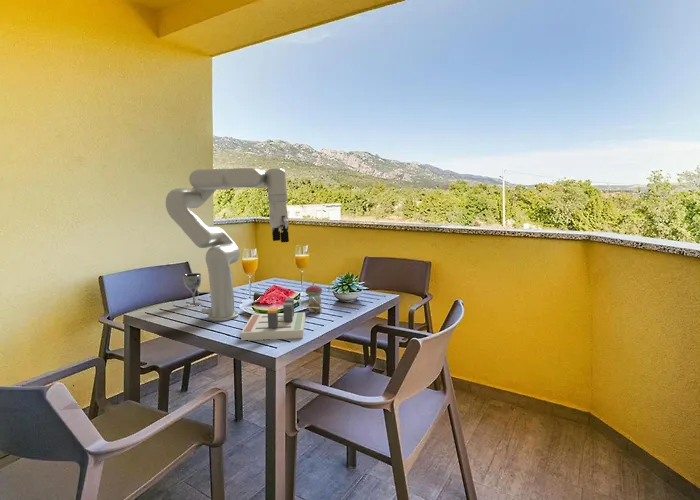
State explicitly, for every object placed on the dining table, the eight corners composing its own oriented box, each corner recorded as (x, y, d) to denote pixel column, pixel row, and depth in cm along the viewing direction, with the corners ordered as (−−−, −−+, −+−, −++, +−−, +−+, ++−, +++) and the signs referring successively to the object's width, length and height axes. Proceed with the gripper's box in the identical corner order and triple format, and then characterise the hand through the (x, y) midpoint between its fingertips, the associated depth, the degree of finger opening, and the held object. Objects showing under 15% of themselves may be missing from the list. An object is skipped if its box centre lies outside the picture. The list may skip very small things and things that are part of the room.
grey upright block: (268, 328, 136) (267, 311, 135) (269, 325, 140) (268, 308, 139) (277, 328, 137) (276, 310, 136) (278, 324, 140) (277, 307, 139)
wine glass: (206, 303, 185) (204, 274, 183) (192, 307, 178) (189, 276, 176) (196, 301, 189) (194, 272, 187) (182, 305, 183) (179, 275, 181)
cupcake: (321, 301, 185) (320, 278, 183) (304, 301, 185) (303, 278, 183) (323, 297, 193) (322, 274, 192) (306, 297, 193) (306, 274, 192)
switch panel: (241, 340, 134) (239, 313, 133) (252, 321, 156) (251, 298, 154) (302, 338, 135) (301, 311, 134) (305, 319, 157) (304, 296, 156)
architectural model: (319, 315, 163) (318, 299, 163) (304, 314, 165) (304, 298, 164) (321, 313, 167) (321, 297, 166) (307, 312, 168) (306, 296, 167)
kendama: (280, 297, 198) (270, 306, 178) (263, 297, 199) (250, 306, 179) (280, 286, 197) (269, 294, 178) (262, 286, 198) (249, 294, 178)
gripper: (262, 200, 157) (265, 240, 159) (276, 199, 142) (279, 243, 144) (279, 200, 161) (282, 239, 163) (294, 198, 146) (297, 241, 148)
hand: (280, 241), depth 153 cm, fingers open, 9 cm apart
